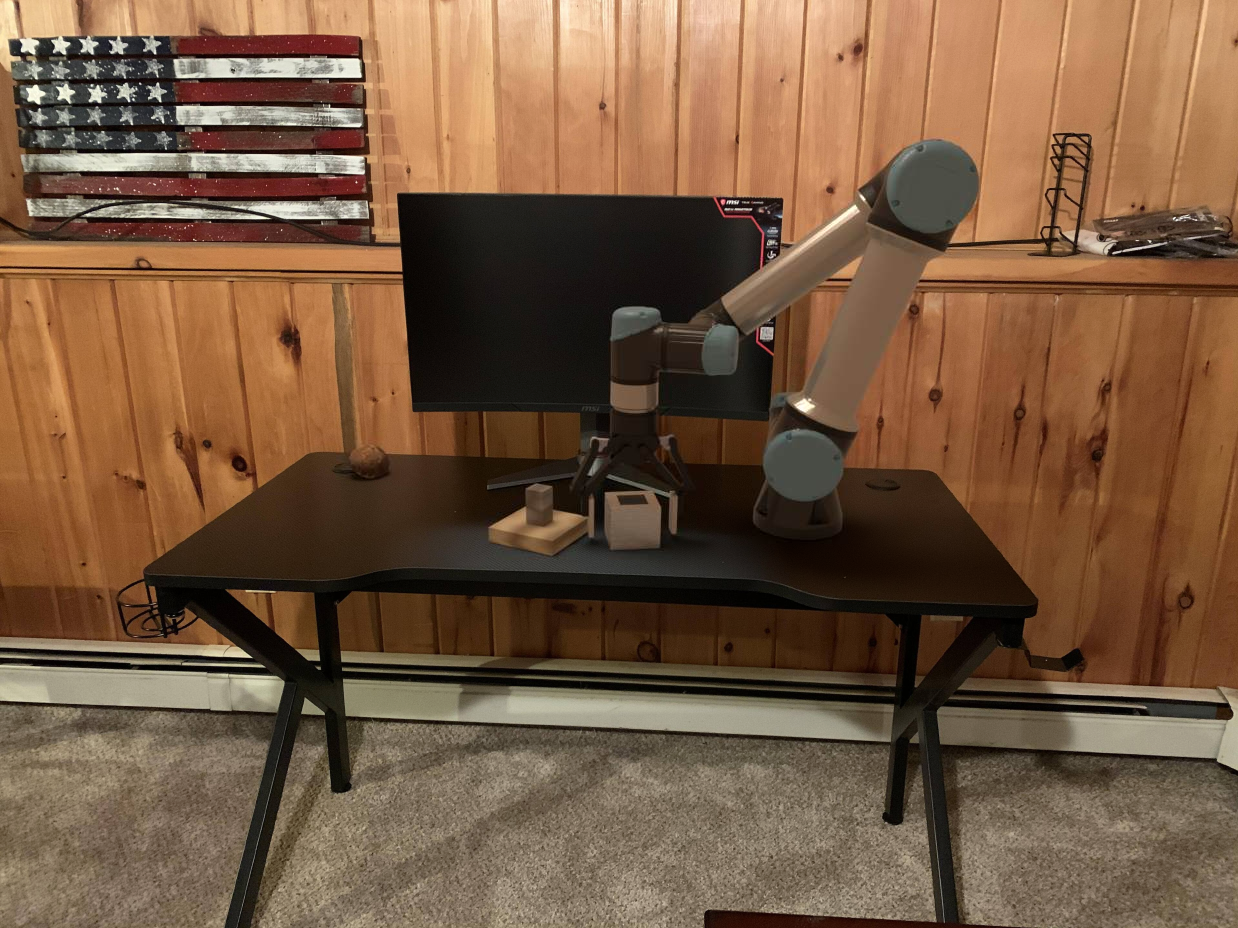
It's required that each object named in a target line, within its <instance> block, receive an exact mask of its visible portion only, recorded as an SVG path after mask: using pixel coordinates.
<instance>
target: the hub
mask: <svg viewBox="0 0 1238 928" xmlns="http://www.w3.org/2000/svg"><path fill="white" fill-rule="evenodd" d="M661 518H662V505H660V503H659V500H658V499H657V497H656V495H655V493H654V491H653V490H634V491H633V490H632V491H631V490H629V491H609V492H608V491H607V492H604V534H605V537H606V539H607V540H606V541H607V543H608V546H609V549H610V551H624V550H626V551H627V550H644V549H645V550H646V549H648V550H649V549H661V529H662V528H661V523H662V519H661Z"/></svg>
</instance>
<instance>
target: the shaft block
mask: <svg viewBox="0 0 1238 928" xmlns="http://www.w3.org/2000/svg"><path fill="white" fill-rule="evenodd" d="M553 490H554V489H553V486H552V485H547V484H542V483H534V484H532V485H530V486H528V487H527V488H525V506H524V507H522V508H521V509H519V510H516V511H515V512H513V513H512V514H510V515H508V516H507V517H505V518H503V519H500V520H499V521H496V522H495V523H493V524H492V525H491V526H488V542H489V543H493V544H498V545H502V546H506V547H511V548H516V549H521V550H523V551H529V552H534V553H537V554H543V555H546V556H550V557H551V556H552V557H553V556H555V555H556V554H557V553H559V552H561V551H562V550H563V549H565V548H566V547H568V546H569V545H570V544H572V543H573V542H575V541H576V540H578V539H579V538H581V537H582V536H583V535H585V534H586V533H587V534H588V531H587V517H583V516H582V514H577V513H571V512H566V511H561V510H557V509H554V491H553Z"/></svg>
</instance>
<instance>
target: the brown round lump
mask: <svg viewBox="0 0 1238 928" xmlns="http://www.w3.org/2000/svg"><path fill="white" fill-rule="evenodd" d="M348 463H349V467H350V468H351V469H352V470H353V472H354V473H355V474H357V475H358V476H359V477H363V478H365V479H376V478H380V477H382V476H383V475H384V474H385V475H386V473H387V472H388V470H389V467H390V459H389V456H388V454H387V452H385V451H384V449H382V448H381V447H379V446H377V445H375V444H369V443H368V444H366V443H365V444H363V445H359V446H356V447H355V448H354V449H353V450H352V451H351V452H350V455H349V457H348Z"/></svg>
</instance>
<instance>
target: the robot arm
mask: <svg viewBox="0 0 1238 928" xmlns="http://www.w3.org/2000/svg"><path fill="white" fill-rule="evenodd" d="M979 190H980V176H979V171H978V168H977V165H976V163H975V161H974V159H973V158H972V157H971V156H970V154H969V153H968V152H967V151H966V150H965V149H963V147H962V146H961V145H958V144H956V143H954V142H952V141H950V140H949V141H948V140H944V139H940V138H931V139H930V138H929V139H924V140H920V141H918V142H915V143H913V144H911V145H908V146H906V147H905V148H902V150H900V151H899V152H897V153H896V154H895V155H894V156H893V157H892V158H891V159H890V161H889V162H888V163H886V165H885V166H884V167H883V168H882V169H881V170H879V172H877V173H876V174H875V175H874V176H873V177H872V178H871V179H870V180H868V181H867V182H865V183H864V184H863V185H861V187H860V188H858V189H857V190H855V194H854V196H853V200H852V201H851V202H850V203H848V204H847V205H846V206H844V207H842V209H841V210H839V211H837V212H836V213H834V214H833V215H832V216H831V217H829V218H828V219H827V220H825V221H824V222H823V223H821V224H820V225H819V226H816V227H815V229H813V230H811V231H810V232H809V233H808V234H806V235H804V237H802V238H800V239H799V240H798V241H797V242H795V243H794V244H792V245H791V246H790V247H788V248H787V249H786V250H785V251H783V252H782V253H781V254H779V255H778V256H776V257H775V258H773V259H772V260H770V262H767V263H766V264H765V265H763V267H761V268H760V269H758V270H757V271H756V272H754V273H753V274H752V275H750V276H748V278H746V279H744V280H743V281H742V282H741V283H739V284H738V285H737V286H735V287H734V288H733V289H731V290H730V291H729V292H727V293H726V294H724V295H723V296H721V298H720V299H718V300H717V301H715V302H713V303H712V304H711V305H710V306H708V307H707V308H705V309H702V310H700V311H699V312H697V313H696V314H695V315H694V316H693V317H692V318H691V320H690V321H689V322H688V323H680V322H679V323H676V322H675V323H671V322H664V321H663V320H662V317H661V311H660V310H658V309H657V308H655V307H646V306H624V307H620V308H618V309H616V310H615V311H614V312H613V313H612V316H611V317H612V318H611V331H610V332H611V334H610V337H609V340H610V402H609V403H610V405H611V406H612V407H611V408H610V410H609V418H610V419H609V421H610V422H609V435H608V437H607V438H603V437H602V438H601V437H598V436H597V435H591V436H590V437H589V444H588V445H589V446H588V450H587V452H586V454H585V456H584V457H583V460H582V461H581V463H580V465H579V467H578V469H577V471H576V473H575V475H574V477H573V479H572V480H571V483H570V484H569V492H570V494H571V496H576V497H580V512H581V515H582V516H583V517H587V531H588V532H587V535H588V538H594V537H595V533H594V532H595V499H594V495H593V493H594V492H595V491H596V490H597V489H598V488H599V487H600V485H601V484H602V483H603V482H604V481H605V480H606V478H607V477H608V476H609V475H610V474H611V473H612V471H614V470H615V469H616V468H617V467H618V466H619V465H620V464H621V465H624V466H632V465H638V466H644V464H646V463H648V462H649V464H650V465H651V466H652V467H653V468H654V469H655V470H656V471H657V472H658V473H659V475H660V476H661V477H662V478H663V479H664V480H665V482H667V484H668V485H669V486H670V487H671V488H672V489H673V490H670V491H669V503H668V504H669V505H668V506H669V509H668V529H669V532H670V533H671V534H672V535H676V534H677V526H678V524H677V521H678V514H682V513H683V511H684V499H685V496H686V494H687V493H689V492H694V491H695V490H696V484H695V483H694V481H693V479H692V477H691V475H690V472H689V471H688V468H687V466H686V464H685V463H684V461H683V458H682V455H681V454H680V452H679V449H678V440H677V438H676V437H675V435H674V434H673V433H668V434H667V435H666V436H659V435H658V424H659V423H658V419H659V416H658V415H659V413H658V412H659V411H658V409H657V408H656V407H657V406H658V405H659V381H660V379H659V378H660V377H659V376H660V375H659V374H660V372H663V373H678V374H694V375H707V376H711V377H714V376H723V375H724V376H727V375H728V376H730V375H733V374H734V373H735V372H736V371H737V366H738V359H739V344H740V342H741V341H742V340H744V339H745V338H746V337H747V336H749V335H750V334H751V333H753V332H754V331H755V330H757V329H758V328H760V327H761V326H763V325H764V324H765V323H767V322H768V321H770V320H772V319H773V318H774V317H776V316H777V315H778V314H780V313H781V312H783V311H784V310H785V309H787V308H789V307H790V306H791V305H793V304H794V303H795V302H797V301H798V300H800V299H802V298H803V297H804V296H806V295H807V294H809V293H810V292H811V291H812V290H814V289H815V288H817V287H818V286H820V285H821V284H823V283H824V282H825V281H827V280H829V279H830V278H831V277H833V276H834V275H836V274H837V273H839V271H841V270H843V269H844V268H846V267H847V266H848V265H849V264H851V263H852V262H854V261H856V260H857V259H858V258H860V257H861V256H862V257H861V259H860V261H859V264H858V266H857V268H856V270H855V273H854V275H853V277H852V279H851V282H850V284H849V285H848V288H847V291H846V293H845V295H844V297H843V299H842V302H841V304H840V306H839V307H838V310H837V312H836V315H835V318H833V319H834V320H833V321H832V324H831V326H830V328H829V330H828V332H827V335H826V336H825V339H824V341H823V343H822V345H821V348H820V350H819V352H818V354H817V357H816V359H815V361H814V364H813V366H812V367H811V370H810V373H809V374H808V376H807V379H806V381H805V384H804V386H803V388H802V390H800V391H788V392H787V391H786V392H778V393H775V394H774V395H773V396H772V397H771V402H770V406H769V408H768V411H769V424H768V425H769V427H768V433H767V440H766V443H765V448H764V451H763V455H762V467H763V471H764V474H765V475H764V476H765V480H764V483H763V485H762V488H761V490H760V492H759V496H758V497H757V500H756V502H755V504H754V507H753V515H752V522H753V525H755V527H756V528H757V529H759V530H761V531H762V532H764V533H767V534H768V535H772V536H775V537H778V538H784V539H789V540H798V541H814V540H822V539H823V540H825V539H829V538H832V537H834V536H836V535H838V534H839V533H841V531H842V530H843V521H844V520H843V518H844V515H843V512H842V511H843V510H842V507H841V503H840V499H839V495H838V490H837V486H838V485H839V483H840V481H841V480H842V478H843V475H844V470H845V460H846V457H847V456H848V453H849V452H850V449H851V448H852V445H853V443H854V441H855V439H856V438H857V435H858V433H859V430H860V428H861V427H860V423H859V422H858V419H857V415H856V414H857V412H858V409H859V407H860V404H861V403H862V401H863V399H864V396H865V395H866V392H867V390H868V388H869V386H870V383H872V380H873V378H874V375H875V373H876V371H877V369H878V367H879V365H880V363H881V360H882V359H883V356H884V355H885V352H886V350H887V348H888V346H889V344H890V343H891V340H892V338H893V336H894V334H895V331H896V329H897V328H898V325H899V323H900V321H901V319H902V317H903V315H904V314H905V313H904V312H905V311H906V308H907V307H908V304H909V302H910V300H911V298H912V295H913V294H914V293H915V290H916V287H917V285H918V284H919V282H920V280H921V278H922V275H923V273H924V272H925V270H926V267H927V264H928V263H929V262H930V261H932V260H934V259H936V258H939V257H941V256H944V255H945V253H946V252H947V249H948V246H949V244H950V243H951V242H952V238H953V237H954V234H955V232H956V231H957V229H958V226H959V225H960V223H962V222H963V220H965V219H966V218H967V217H968V215H969V213H970V212H971V211H972V210H973V208H974V206H975V204H976V201H977V199H978V195H979ZM660 445H661V446H663V448H664V449H665V450H666V451H668V452H669V454H670V456H671V458H672V460H673V462H674V464H675V466H676V468H677V470H678V472H679V474H680V476H681V478H682V480H683V482H682V483H680V482H679V481H678V480H677V479H676V478H675V476H674V475H673V474H672V473H671V472H670V471H669V469H667V467H666V466H665V465H664V464H663V462H661V461H660V459H659V458H658V456H656V454H655V453H656V452H657V450H658V449H659V448H660ZM605 447H607V448H608V449H609V450H610V453H609V455H608V456H607V457H606V458H605V460H604V462H603V463H602V464H601V465H600V466H599V468H598V469H597V470H596V471H595V472H594V473H593V474H592V476H591V477H590V478H589V479H588V480H587V481H585V480H586V479H587V477H588V475H589V473H590V471H591V469H592V467H593V465H594V463H595V461H596V460H597V457H598V454H599V453H601V452H603V451H604V448H605ZM584 482H585V484H584Z"/></svg>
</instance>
